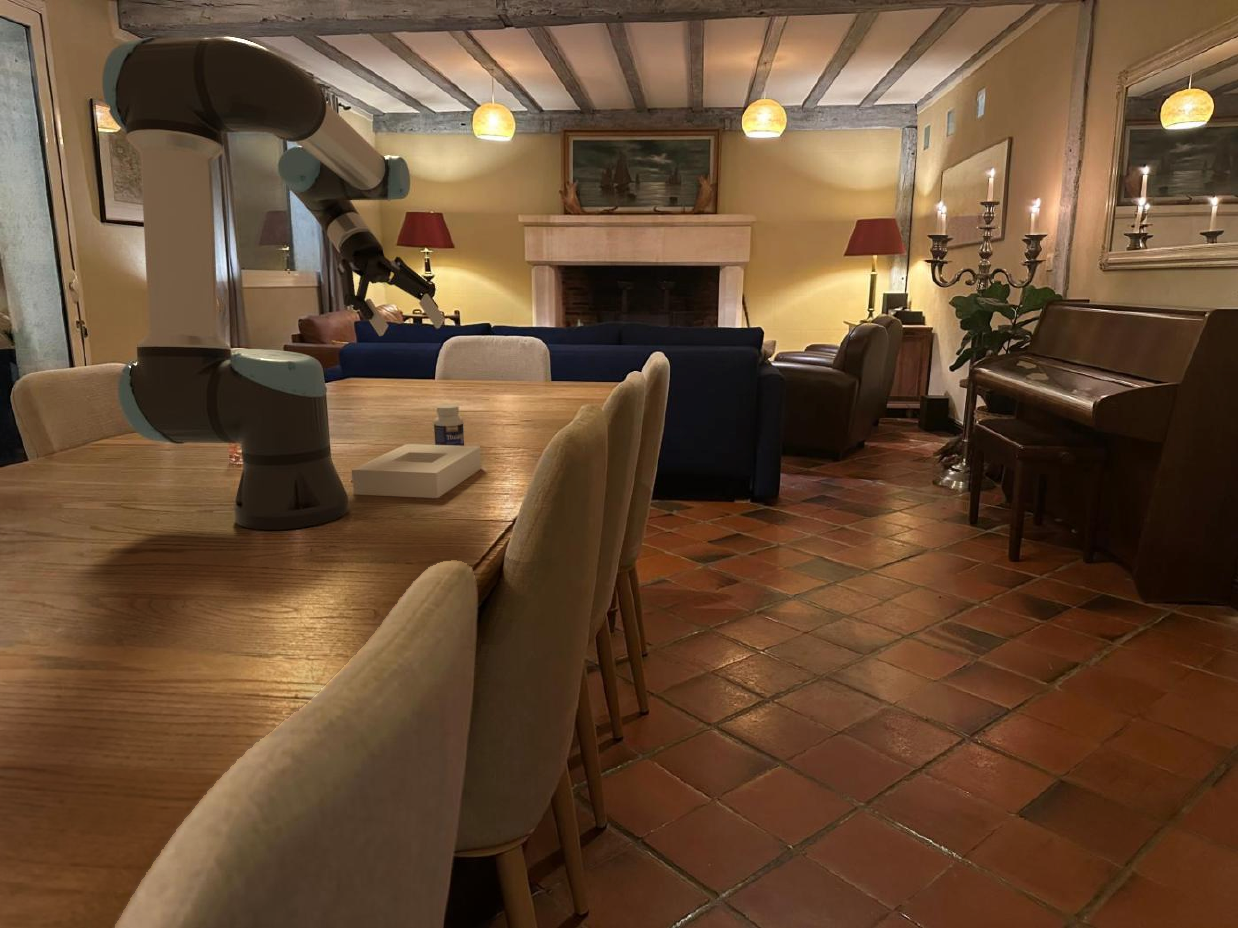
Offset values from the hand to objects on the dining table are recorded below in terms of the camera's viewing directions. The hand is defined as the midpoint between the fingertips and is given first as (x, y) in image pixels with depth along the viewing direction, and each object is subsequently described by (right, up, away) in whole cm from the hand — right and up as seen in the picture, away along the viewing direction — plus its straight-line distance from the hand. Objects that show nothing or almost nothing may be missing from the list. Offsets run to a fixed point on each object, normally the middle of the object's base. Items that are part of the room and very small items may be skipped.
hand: (413, 327), depth 153 cm
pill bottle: (+7, -25, +1) cm, 26 cm away
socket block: (+6, -28, -17) cm, 34 cm away
